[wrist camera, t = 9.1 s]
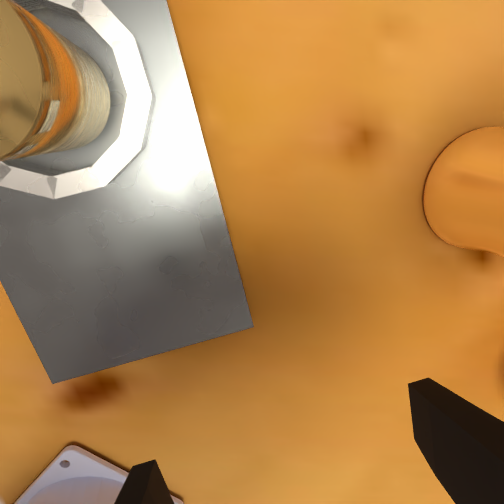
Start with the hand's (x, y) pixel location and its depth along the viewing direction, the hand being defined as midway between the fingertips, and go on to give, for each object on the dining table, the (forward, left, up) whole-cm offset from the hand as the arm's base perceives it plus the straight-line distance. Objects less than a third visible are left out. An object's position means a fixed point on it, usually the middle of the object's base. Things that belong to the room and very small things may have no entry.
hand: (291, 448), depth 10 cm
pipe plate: (0, +10, -9) cm, 13 cm away
